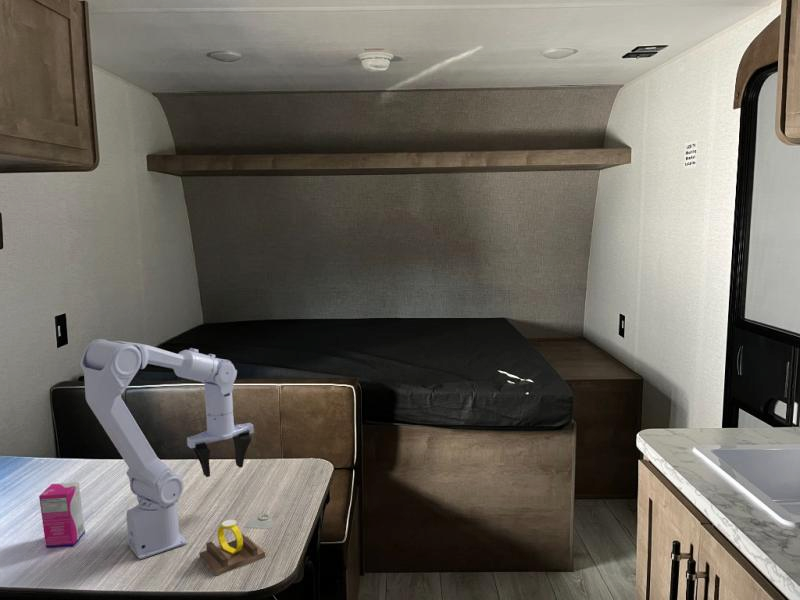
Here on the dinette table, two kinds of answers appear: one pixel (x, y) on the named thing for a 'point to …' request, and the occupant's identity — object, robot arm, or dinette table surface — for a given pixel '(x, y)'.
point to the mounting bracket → (260, 522)
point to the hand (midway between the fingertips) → (223, 470)
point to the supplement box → (62, 515)
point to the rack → (230, 556)
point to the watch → (239, 539)
